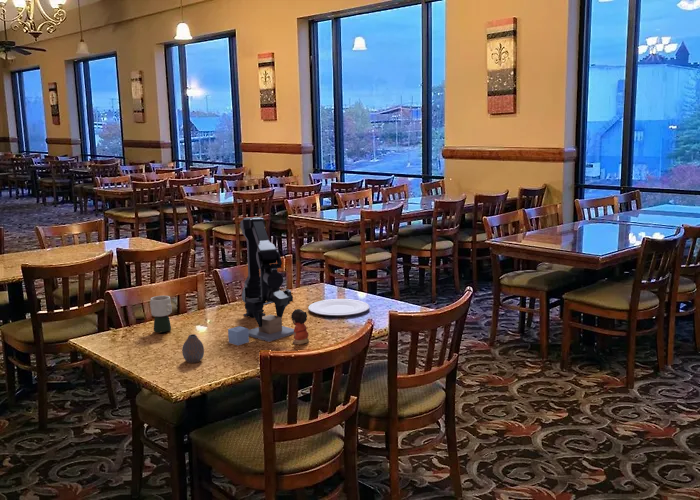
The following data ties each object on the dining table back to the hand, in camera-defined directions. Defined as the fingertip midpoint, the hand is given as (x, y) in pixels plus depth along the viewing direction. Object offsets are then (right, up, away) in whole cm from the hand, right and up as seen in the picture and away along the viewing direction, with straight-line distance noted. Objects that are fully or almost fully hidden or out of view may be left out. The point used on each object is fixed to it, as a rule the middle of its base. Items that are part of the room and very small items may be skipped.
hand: (270, 324), depth 258 cm
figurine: (+12, -6, -10) cm, 16 cm away
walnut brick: (0, -3, +1) cm, 3 cm away
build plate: (0, -4, +1) cm, 4 cm away
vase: (-22, -9, -28) cm, 36 cm away
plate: (+25, +2, +31) cm, 39 cm away
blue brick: (-10, -6, -9) cm, 15 cm away
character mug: (-41, -4, +5) cm, 41 cm away
